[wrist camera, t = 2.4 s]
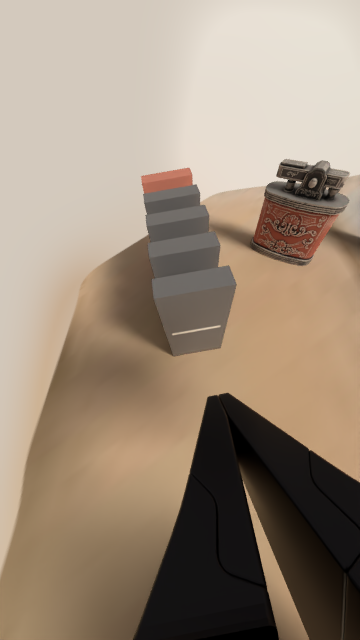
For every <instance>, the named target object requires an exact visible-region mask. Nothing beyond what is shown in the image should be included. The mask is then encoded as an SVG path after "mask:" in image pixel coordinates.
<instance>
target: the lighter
mask: <svg viewBox="0 0 360 640" xmlns="http://www.w3.org/2000/svg"><path fill="white" fill-rule="evenodd" d="M349 174H350V173H349V172H348V171H343V170H337V169H331V168H330V163H329V162H328V161H320V162H318V163H317V164H316V165H315V166H313V165H307V162H302V161H296V160H289V159H285V160H283V162H281V163H280V165H279V169H278V172H277V177H279V178H284V179H289V180H288V181H287V182H272V183H269V184H268V185H267V187H266V190H265V193H264V196H265V199H264V203H263V207H262V210H261V214H260V217H259V221H258V224H257V228H256V232H255V235H254V237H253V238H252V241H251V248H252V249H253V250H255V251H257V252H259V253H261V254H263V255H265V256H268V257H270V258H273V259H275V260H279V261H282V262H285V263H289V264H294V265H298V266H305V265H308V264H309V263H310V261H311V260H312V258H313V257H314V253H315V251H316V249H317V248H318V246H319V245H320V243H321V242H322V240H323V239H324V237H325V235H326V234H327V232H328V231H329V229H330V228H331V226H332V224H333V223H334V221H335V220H336V218H337V217H338V215H339V214H340V213H342V212H343V211H344V209H345V208H346V206H347V205H348V203H349V199H348V198H347V197H346V196H345V195H343V194H340V193H338V192H339V191H340V189H341V188H342V187H343V185H344V183H345V182H346V180H347V178H348V176H349ZM296 181H299V182H302V183H301V184H297V183H296ZM326 187H329V189H328V190H326Z"/></svg>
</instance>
